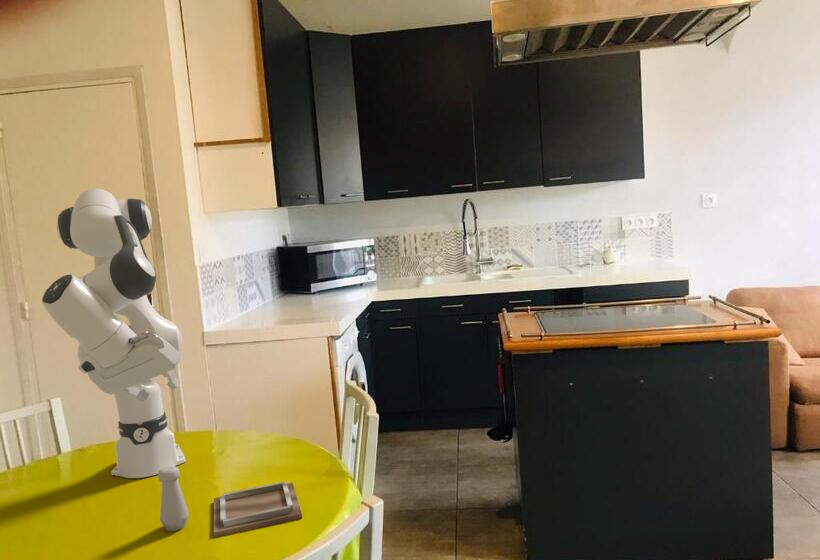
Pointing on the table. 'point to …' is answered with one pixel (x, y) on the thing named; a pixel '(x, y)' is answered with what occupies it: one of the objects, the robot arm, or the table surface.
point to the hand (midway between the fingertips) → (161, 392)
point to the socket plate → (255, 508)
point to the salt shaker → (172, 500)
